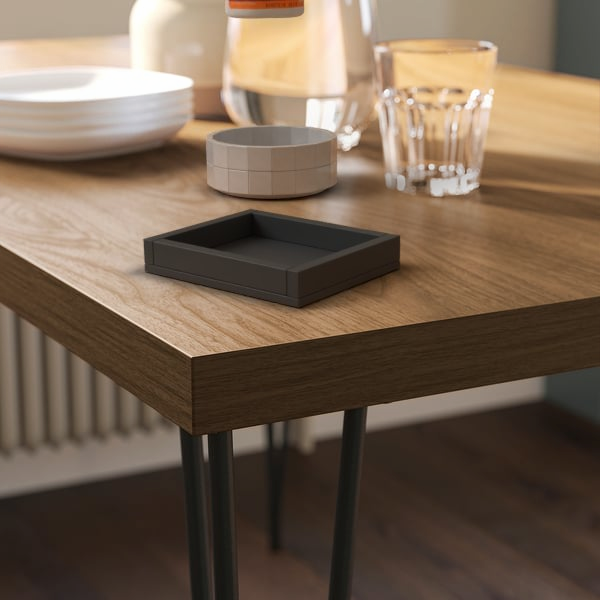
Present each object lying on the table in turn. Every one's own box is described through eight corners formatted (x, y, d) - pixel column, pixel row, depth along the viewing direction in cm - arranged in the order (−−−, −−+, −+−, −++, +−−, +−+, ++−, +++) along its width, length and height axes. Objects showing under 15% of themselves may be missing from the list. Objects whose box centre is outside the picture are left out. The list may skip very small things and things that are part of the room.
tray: (400, 268, 69) (400, 235, 69) (298, 308, 62) (298, 271, 62) (251, 238, 76) (250, 208, 76) (144, 271, 69) (142, 238, 69)
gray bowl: (362, 183, 92) (362, 132, 91) (280, 207, 85) (280, 152, 84) (265, 168, 98) (264, 121, 97) (180, 189, 91) (178, 138, 90)
